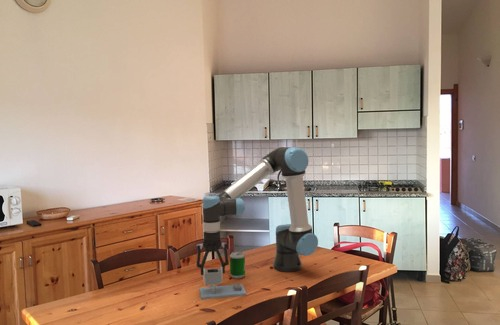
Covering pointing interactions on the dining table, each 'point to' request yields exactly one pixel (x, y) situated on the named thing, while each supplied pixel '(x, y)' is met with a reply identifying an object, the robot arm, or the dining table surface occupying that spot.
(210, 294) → the keeper
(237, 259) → the soda can
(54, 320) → the dining table surface
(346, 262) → the dining table surface
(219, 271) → the grey tapered block
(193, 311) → the dining table surface
